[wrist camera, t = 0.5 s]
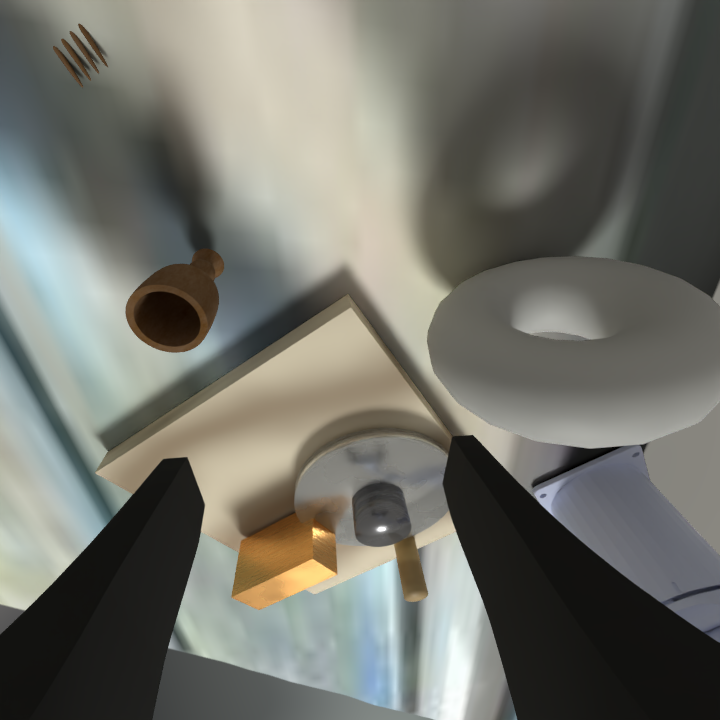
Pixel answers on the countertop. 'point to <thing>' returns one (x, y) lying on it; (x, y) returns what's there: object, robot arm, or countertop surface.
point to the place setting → (167, 277)
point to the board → (288, 434)
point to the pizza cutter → (344, 510)
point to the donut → (579, 351)
